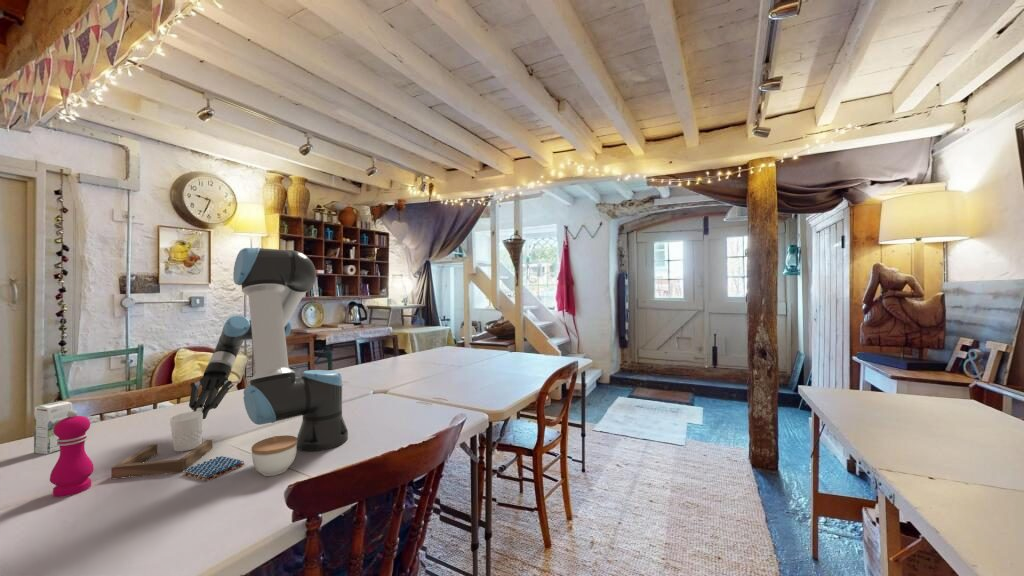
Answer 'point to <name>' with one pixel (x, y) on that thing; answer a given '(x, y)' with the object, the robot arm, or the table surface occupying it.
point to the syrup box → (48, 425)
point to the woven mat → (213, 468)
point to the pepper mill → (71, 456)
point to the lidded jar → (274, 454)
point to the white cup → (187, 430)
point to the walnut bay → (158, 462)
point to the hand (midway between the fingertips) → (193, 428)
